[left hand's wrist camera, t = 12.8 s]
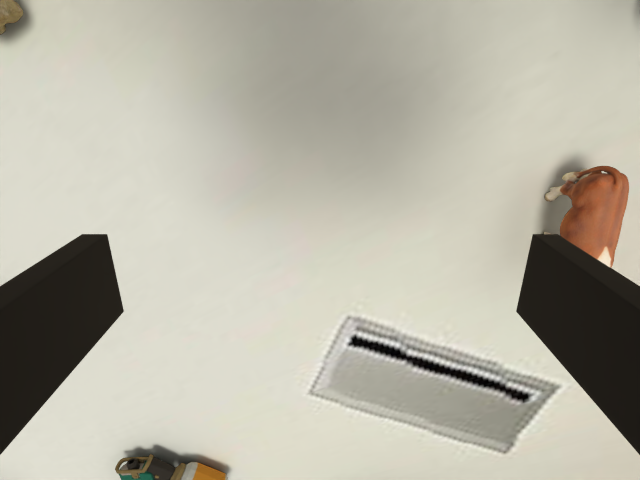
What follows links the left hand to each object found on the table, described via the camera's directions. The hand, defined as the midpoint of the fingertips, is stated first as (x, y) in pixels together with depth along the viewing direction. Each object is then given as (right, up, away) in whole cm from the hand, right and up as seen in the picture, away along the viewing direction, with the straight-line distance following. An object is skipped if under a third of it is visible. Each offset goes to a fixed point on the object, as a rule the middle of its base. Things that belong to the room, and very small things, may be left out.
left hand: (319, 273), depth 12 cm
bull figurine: (+24, +3, +27) cm, 36 cm away
